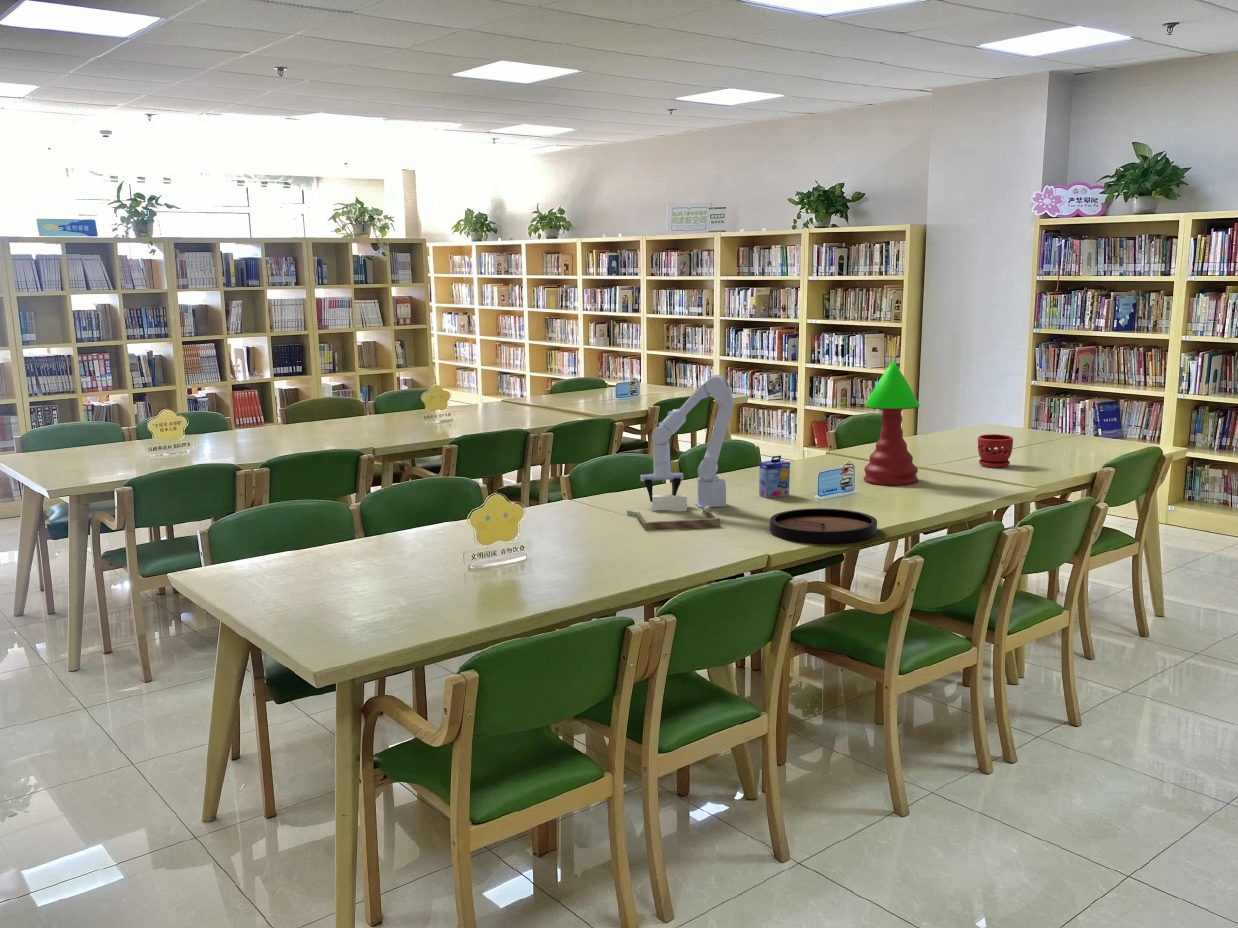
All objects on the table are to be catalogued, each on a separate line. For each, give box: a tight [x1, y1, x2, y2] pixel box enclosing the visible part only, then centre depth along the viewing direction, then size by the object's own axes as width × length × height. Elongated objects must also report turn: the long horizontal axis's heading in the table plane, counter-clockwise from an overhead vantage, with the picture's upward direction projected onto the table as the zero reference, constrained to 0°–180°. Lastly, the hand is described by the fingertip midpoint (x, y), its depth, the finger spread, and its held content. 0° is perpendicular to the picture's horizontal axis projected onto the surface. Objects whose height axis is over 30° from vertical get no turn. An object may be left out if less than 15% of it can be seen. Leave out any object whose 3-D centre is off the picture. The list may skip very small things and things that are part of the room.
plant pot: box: [977, 433, 1014, 469], centre depth 400 cm, size 13×13×12 cm
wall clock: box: [769, 507, 878, 546], centre depth 301 cm, size 31×4×31 cm
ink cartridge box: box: [758, 455, 791, 499], centre depth 354 cm, size 10×6×14 cm, turn 115°
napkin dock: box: [626, 506, 721, 532], centre depth 321 cm, size 28×24×2 cm
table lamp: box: [863, 360, 920, 486], centre depth 373 cm, size 20×20×45 cm
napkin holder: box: [651, 494, 688, 512], centre depth 336 cm, size 15×11×6 cm
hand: (662, 500), depth 345 cm, fingers open, 7 cm apart
